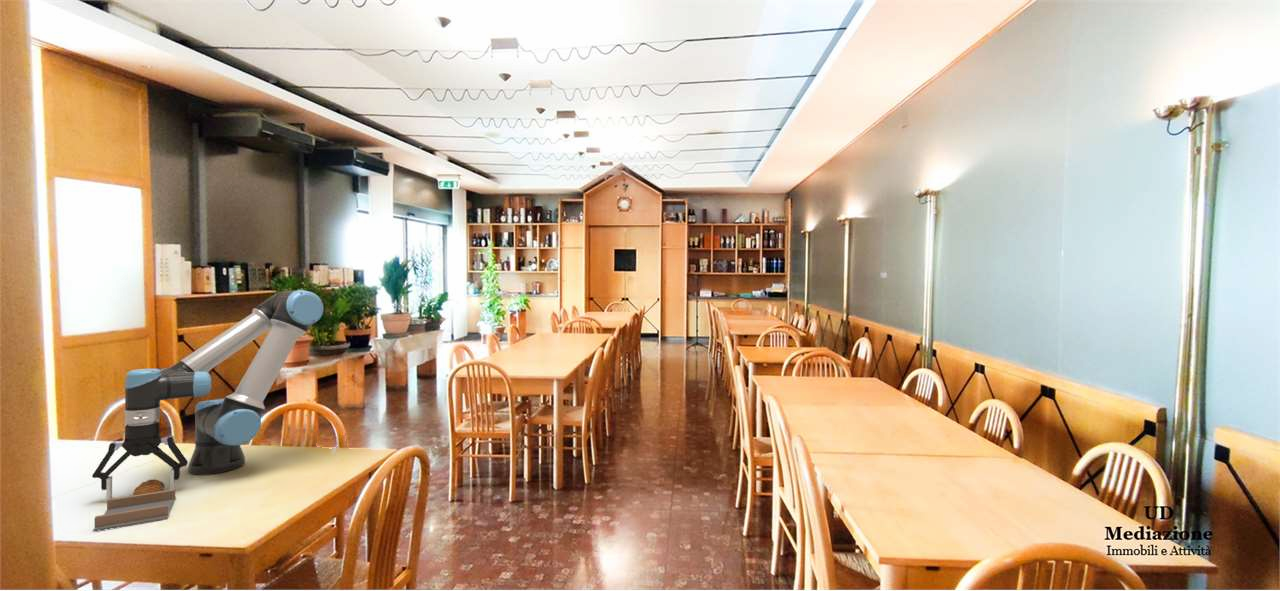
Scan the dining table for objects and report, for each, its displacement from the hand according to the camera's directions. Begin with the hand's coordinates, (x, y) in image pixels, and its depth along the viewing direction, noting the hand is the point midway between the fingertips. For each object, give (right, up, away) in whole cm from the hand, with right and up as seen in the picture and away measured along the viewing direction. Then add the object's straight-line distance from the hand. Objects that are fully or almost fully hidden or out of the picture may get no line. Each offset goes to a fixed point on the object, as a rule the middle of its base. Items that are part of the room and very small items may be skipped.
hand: (141, 496), depth 159 cm
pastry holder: (+10, 0, -12) cm, 16 cm away
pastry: (+1, -1, +1) cm, 2 cm away
